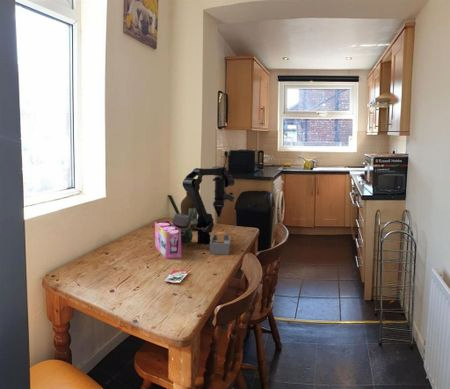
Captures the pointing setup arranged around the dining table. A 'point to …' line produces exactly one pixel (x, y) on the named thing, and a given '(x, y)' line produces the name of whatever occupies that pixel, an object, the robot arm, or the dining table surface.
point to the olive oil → (189, 210)
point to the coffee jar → (183, 227)
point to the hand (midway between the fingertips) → (219, 215)
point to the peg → (220, 237)
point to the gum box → (168, 239)
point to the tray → (220, 245)
